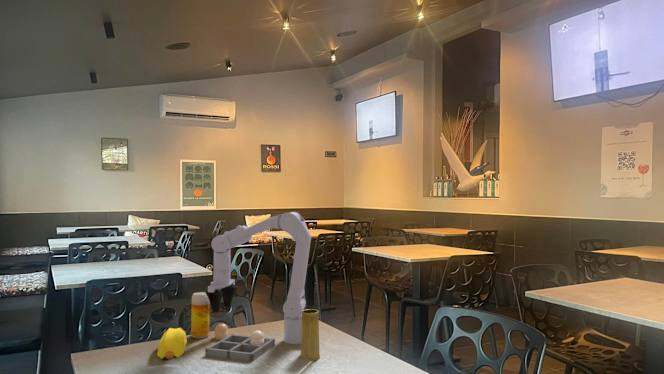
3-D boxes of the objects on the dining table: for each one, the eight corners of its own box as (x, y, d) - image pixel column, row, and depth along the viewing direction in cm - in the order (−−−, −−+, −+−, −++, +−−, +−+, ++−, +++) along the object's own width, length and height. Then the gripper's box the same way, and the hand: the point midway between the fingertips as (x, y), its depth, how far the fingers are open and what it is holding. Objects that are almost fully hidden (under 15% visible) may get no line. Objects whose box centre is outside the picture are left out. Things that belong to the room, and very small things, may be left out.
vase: (323, 356, 146) (324, 310, 147) (312, 362, 141) (312, 314, 141) (307, 353, 150) (308, 307, 150) (296, 358, 145) (296, 311, 145)
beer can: (204, 339, 163) (204, 295, 163) (187, 338, 164) (188, 295, 164) (212, 334, 169) (212, 292, 169) (196, 333, 170) (196, 291, 170)
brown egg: (230, 338, 164) (230, 322, 164) (223, 342, 160) (223, 325, 160) (219, 337, 165) (219, 321, 166) (212, 341, 161) (212, 324, 161)
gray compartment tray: (274, 348, 154) (274, 338, 154) (252, 364, 139) (252, 354, 139) (231, 343, 159) (231, 334, 159) (205, 358, 144) (205, 348, 144)
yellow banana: (155, 363, 140) (182, 361, 142) (155, 340, 140) (182, 339, 142) (163, 344, 158) (187, 343, 160) (163, 324, 158) (187, 323, 160)
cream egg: (266, 346, 153) (266, 329, 153) (260, 351, 149) (260, 333, 149) (254, 345, 154) (254, 328, 155) (247, 349, 150) (247, 331, 150)
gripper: (222, 266, 171) (222, 304, 171) (199, 272, 157) (199, 313, 157) (240, 267, 169) (239, 305, 169) (218, 273, 155) (218, 315, 155)
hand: (221, 309), depth 163 cm, fingers open, 7 cm apart
